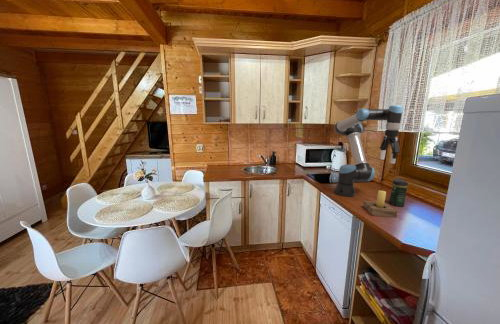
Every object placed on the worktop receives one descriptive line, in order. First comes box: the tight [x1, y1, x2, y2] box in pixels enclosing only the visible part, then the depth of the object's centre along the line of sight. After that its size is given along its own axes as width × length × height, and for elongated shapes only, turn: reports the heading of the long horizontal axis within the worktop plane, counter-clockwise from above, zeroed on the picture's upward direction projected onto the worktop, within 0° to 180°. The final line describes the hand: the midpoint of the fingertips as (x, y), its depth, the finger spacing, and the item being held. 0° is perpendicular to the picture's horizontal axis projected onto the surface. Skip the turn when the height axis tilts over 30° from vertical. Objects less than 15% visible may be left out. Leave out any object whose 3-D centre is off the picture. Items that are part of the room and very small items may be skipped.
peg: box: [375, 189, 387, 208], centre depth 135 cm, size 4×4×14 cm
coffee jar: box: [389, 178, 409, 207], centre depth 148 cm, size 10×8×19 cm
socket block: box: [363, 200, 398, 218], centre depth 136 cm, size 14×14×4 cm
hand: (387, 161), depth 141 cm, fingers open, 13 cm apart
